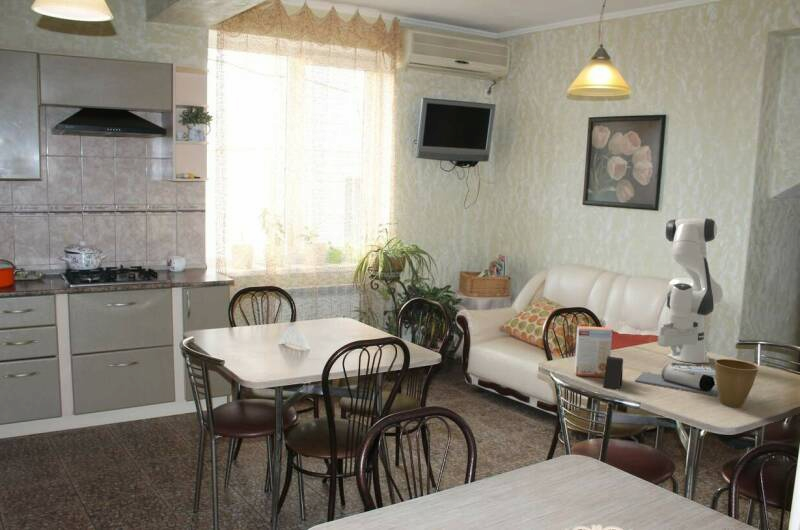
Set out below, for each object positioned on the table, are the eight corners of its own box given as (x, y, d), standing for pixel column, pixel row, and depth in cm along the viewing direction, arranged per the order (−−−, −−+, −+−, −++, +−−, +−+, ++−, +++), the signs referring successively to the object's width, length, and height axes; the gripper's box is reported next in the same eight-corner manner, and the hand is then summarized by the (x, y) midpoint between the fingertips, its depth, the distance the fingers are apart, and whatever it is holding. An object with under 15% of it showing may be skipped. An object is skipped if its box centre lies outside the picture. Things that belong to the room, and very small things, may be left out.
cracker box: (606, 374, 305) (610, 327, 302) (609, 378, 299) (613, 330, 296) (573, 372, 306) (577, 325, 304) (575, 375, 300) (579, 327, 298)
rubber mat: (643, 373, 309) (643, 371, 309) (722, 387, 293) (722, 385, 293) (635, 381, 295) (635, 379, 295) (717, 396, 279) (717, 394, 279)
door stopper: (607, 382, 292) (609, 354, 291) (622, 384, 290) (624, 356, 288) (602, 387, 285) (605, 358, 283) (618, 390, 282) (620, 361, 280)
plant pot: (717, 409, 263) (721, 367, 261) (706, 397, 277) (710, 357, 276) (759, 412, 261) (764, 370, 259) (745, 400, 275) (750, 360, 274)
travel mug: (668, 379, 300) (714, 391, 285) (660, 379, 296) (706, 392, 280) (670, 364, 299) (716, 376, 284) (662, 365, 295) (708, 376, 280)
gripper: (667, 325, 284) (664, 359, 286) (702, 323, 294) (699, 355, 295) (655, 322, 290) (652, 355, 291) (689, 320, 299) (686, 351, 301)
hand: (676, 355), depth 294 cm, fingers closed
